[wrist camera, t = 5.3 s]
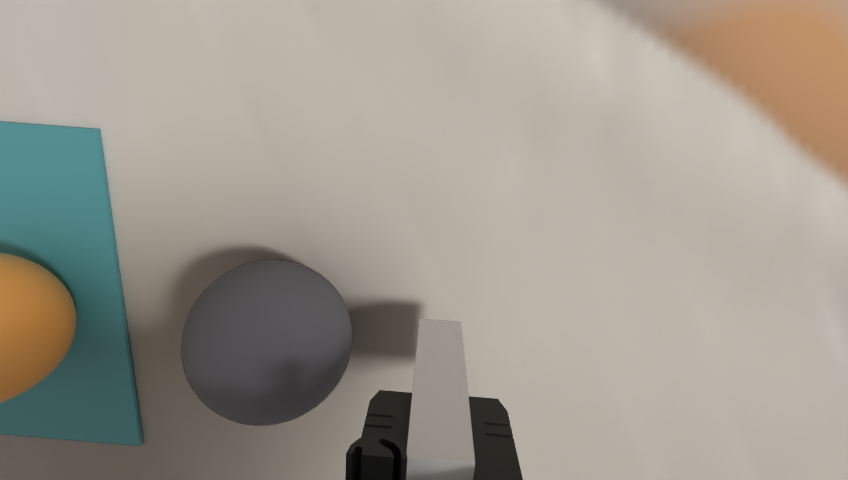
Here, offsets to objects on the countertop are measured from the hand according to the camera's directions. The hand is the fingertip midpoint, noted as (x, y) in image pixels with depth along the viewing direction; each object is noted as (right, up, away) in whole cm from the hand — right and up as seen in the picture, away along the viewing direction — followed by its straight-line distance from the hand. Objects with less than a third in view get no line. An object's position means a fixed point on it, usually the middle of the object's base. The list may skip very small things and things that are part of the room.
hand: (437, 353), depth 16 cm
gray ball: (-6, +1, -1) cm, 6 cm away
